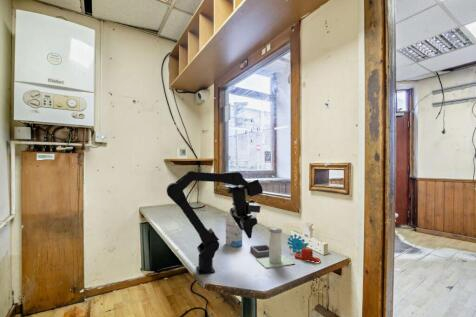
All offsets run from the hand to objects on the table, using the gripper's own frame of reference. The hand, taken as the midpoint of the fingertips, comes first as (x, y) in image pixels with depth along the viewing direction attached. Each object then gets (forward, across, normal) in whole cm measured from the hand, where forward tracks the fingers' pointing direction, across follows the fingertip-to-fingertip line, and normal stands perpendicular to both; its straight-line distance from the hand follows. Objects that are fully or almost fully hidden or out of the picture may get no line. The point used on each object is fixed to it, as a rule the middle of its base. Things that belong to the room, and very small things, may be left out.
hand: (246, 233), depth 103 cm
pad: (+15, -4, -10) cm, 18 cm away
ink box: (+16, +23, +1) cm, 28 cm away
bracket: (+19, -6, -24) cm, 32 cm away
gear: (+20, +4, -26) cm, 33 cm away
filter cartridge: (+14, -4, -10) cm, 18 cm away
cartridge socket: (+16, +7, -8) cm, 19 cm away
